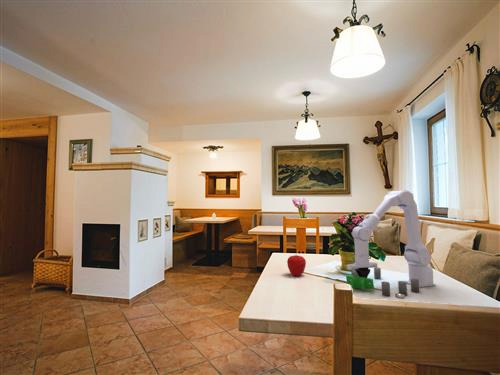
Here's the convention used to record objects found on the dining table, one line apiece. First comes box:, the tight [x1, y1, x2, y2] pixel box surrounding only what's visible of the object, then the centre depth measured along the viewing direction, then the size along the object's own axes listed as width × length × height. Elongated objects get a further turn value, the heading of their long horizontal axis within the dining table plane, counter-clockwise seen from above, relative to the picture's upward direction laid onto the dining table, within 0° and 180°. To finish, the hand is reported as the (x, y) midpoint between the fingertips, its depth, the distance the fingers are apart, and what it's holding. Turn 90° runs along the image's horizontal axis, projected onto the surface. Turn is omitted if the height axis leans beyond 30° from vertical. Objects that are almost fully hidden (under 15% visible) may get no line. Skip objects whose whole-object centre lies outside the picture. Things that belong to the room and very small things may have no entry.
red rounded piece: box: [286, 254, 307, 277], centre depth 139 cm, size 10×10×11 cm
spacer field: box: [350, 267, 421, 297], centre depth 119 cm, size 18×25×5 cm
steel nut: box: [394, 292, 406, 299], centre depth 105 cm, size 3×3×1 cm
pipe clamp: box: [345, 274, 375, 292], centre depth 115 cm, size 11×4×5 cm, turn 49°
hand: (362, 285), depth 117 cm, fingers closed, pressing on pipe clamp
